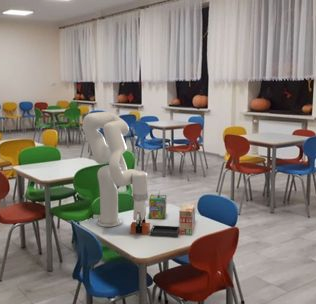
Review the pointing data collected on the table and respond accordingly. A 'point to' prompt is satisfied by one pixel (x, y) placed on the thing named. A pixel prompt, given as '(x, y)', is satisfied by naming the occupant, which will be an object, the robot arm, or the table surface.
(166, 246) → the table surface
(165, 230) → the frame
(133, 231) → the orange rectangular block
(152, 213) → the chalk box
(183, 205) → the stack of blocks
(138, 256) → the table surface
